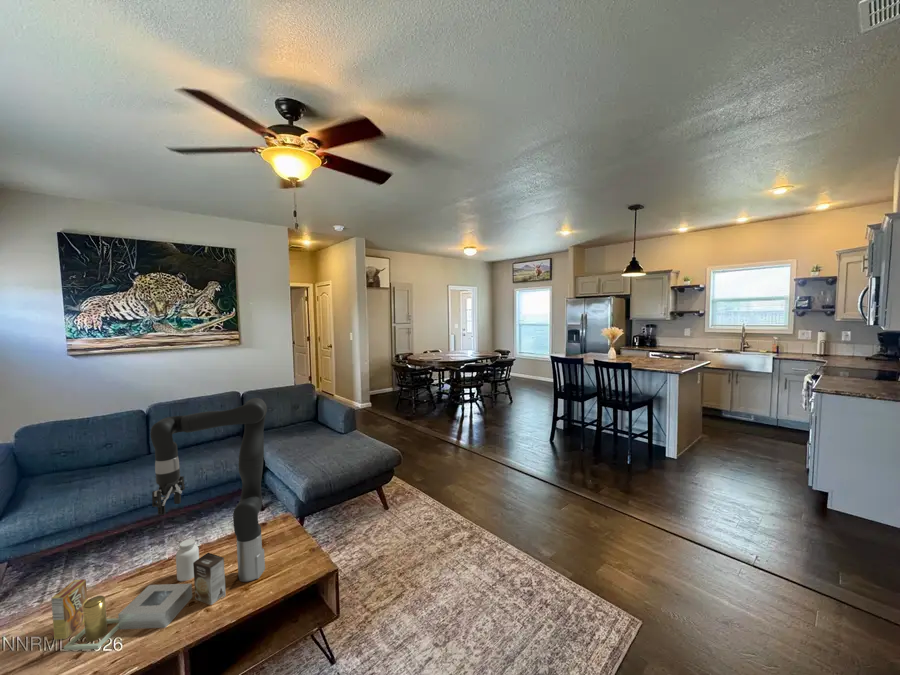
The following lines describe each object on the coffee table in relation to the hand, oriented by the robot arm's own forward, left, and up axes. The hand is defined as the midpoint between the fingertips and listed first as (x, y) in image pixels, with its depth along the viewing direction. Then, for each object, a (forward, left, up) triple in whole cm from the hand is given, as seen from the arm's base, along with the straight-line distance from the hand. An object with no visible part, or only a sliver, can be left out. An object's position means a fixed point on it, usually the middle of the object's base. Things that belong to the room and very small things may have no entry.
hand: (170, 508), depth 146 cm
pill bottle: (0, -8, -34) cm, 35 cm away
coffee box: (-17, +5, -34) cm, 39 cm away
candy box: (+24, +17, -34) cm, 45 cm away
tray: (+12, +21, -34) cm, 42 cm away
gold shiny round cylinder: (+12, +21, -34) cm, 41 cm away
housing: (-2, +12, -34) cm, 36 cm away
